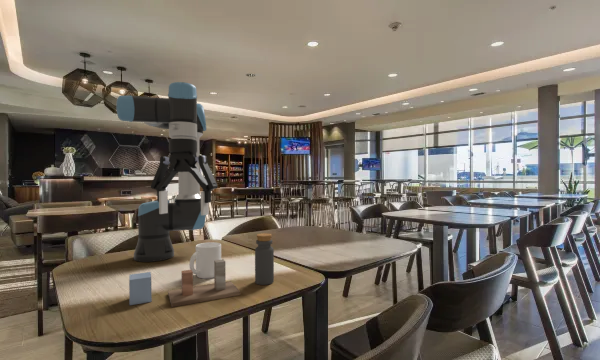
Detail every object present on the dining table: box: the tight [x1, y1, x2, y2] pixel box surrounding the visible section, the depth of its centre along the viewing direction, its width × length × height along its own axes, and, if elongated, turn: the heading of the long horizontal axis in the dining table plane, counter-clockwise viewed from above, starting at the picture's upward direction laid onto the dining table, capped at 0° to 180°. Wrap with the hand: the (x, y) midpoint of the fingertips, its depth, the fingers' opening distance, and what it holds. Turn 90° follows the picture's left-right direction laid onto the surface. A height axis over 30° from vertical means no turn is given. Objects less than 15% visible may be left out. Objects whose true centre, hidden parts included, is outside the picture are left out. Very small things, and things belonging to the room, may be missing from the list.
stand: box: [167, 258, 241, 308], centre depth 90 cm, size 10×18×9 cm, turn 118°
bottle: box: [254, 232, 275, 286], centre depth 101 cm, size 6×6×15 cm
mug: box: [188, 241, 222, 280], centre depth 107 cm, size 12×8×10 cm
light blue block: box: [128, 271, 153, 306], centre depth 87 cm, size 5×5×7 cm
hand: (183, 214), depth 91 cm, fingers open, 13 cm apart
